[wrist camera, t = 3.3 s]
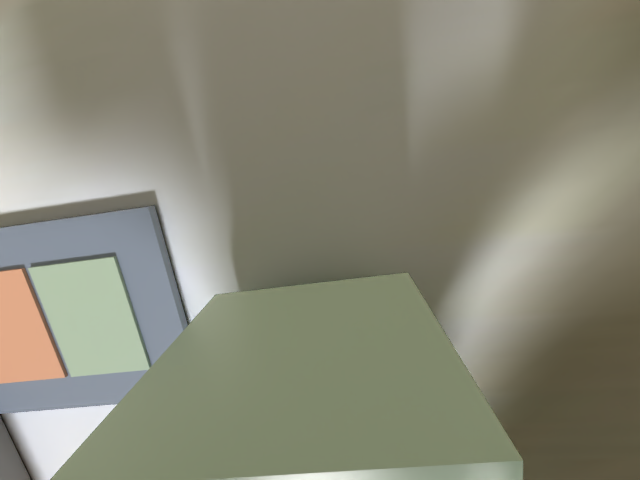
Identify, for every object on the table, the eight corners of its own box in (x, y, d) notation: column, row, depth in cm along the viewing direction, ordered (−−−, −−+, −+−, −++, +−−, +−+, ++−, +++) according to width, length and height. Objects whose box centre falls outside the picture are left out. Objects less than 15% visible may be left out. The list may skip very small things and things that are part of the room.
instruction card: (205, 389, 10) (200, 399, 10) (-17, 408, 11) (-31, 418, 10) (154, 205, 9) (145, 207, 8) (-100, 242, 9) (-119, 245, 9)
